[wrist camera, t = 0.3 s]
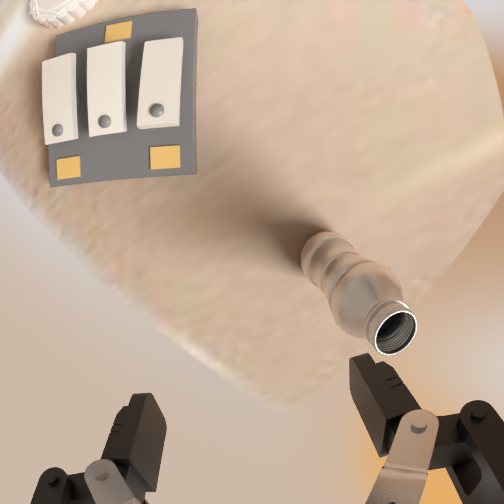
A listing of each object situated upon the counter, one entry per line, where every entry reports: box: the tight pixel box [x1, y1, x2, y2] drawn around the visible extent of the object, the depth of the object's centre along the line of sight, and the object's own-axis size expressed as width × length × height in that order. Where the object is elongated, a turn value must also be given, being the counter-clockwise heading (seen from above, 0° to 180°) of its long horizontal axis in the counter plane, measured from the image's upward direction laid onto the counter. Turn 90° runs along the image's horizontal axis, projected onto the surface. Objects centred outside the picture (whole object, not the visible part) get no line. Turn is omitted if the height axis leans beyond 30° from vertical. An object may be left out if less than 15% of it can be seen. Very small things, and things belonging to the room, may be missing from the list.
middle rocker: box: [87, 41, 127, 137], centre depth 27 cm, size 10×4×1 cm, turn 1°
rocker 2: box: [137, 37, 184, 129], centre depth 27 cm, size 10×4×1 cm, turn 0°
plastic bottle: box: [301, 231, 417, 356], centre depth 29 cm, size 6×7×20 cm
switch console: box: [48, 8, 198, 187], centre depth 30 cm, size 20×18×4 cm
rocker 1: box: [42, 53, 78, 145], centre depth 26 cm, size 10×4×1 cm, turn 1°
